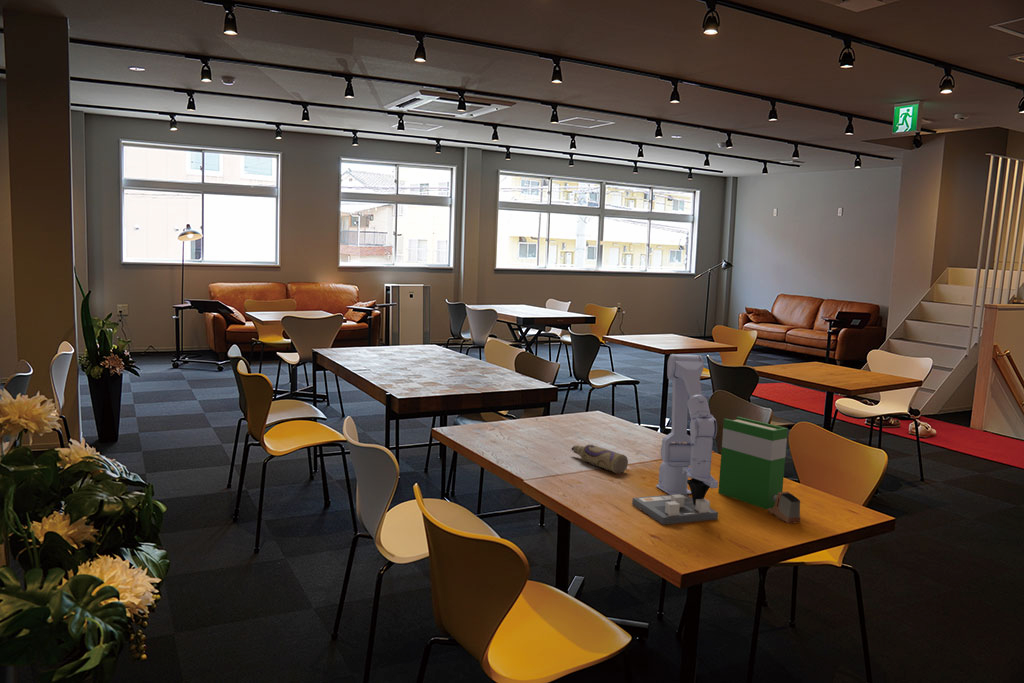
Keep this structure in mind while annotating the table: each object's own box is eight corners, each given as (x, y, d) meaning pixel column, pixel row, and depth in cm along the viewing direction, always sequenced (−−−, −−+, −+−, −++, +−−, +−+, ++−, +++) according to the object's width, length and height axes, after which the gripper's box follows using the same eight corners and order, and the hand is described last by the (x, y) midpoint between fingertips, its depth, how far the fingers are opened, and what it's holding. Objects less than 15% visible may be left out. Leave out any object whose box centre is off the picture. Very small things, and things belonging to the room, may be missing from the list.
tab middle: (670, 505, 211) (671, 494, 210) (679, 504, 212) (680, 494, 211) (675, 507, 208) (675, 497, 208) (684, 507, 209) (684, 496, 209)
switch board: (632, 504, 216) (632, 497, 216) (684, 499, 223) (684, 493, 222) (662, 524, 201) (663, 517, 200) (717, 519, 207) (718, 511, 207)
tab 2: (695, 509, 208) (696, 499, 207) (704, 508, 209) (704, 498, 208) (700, 512, 205) (701, 502, 205) (709, 511, 206) (710, 501, 206)
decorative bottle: (629, 472, 250) (630, 453, 249) (612, 475, 245) (613, 456, 244) (580, 454, 271) (581, 436, 270) (565, 456, 266) (565, 439, 266)
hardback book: (718, 492, 231) (723, 418, 228) (732, 489, 235) (738, 416, 233) (766, 509, 217) (773, 431, 214) (781, 505, 221) (787, 428, 219)
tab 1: (664, 512, 204) (665, 502, 204) (674, 511, 205) (674, 501, 205) (669, 515, 202) (670, 504, 202) (678, 514, 203) (679, 504, 203)
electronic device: (779, 511, 216) (781, 487, 215) (801, 523, 207) (803, 497, 206) (766, 512, 214) (768, 487, 213) (788, 524, 205) (790, 498, 204)
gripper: (674, 453, 213) (671, 497, 214) (703, 467, 199) (700, 514, 201) (695, 451, 215) (692, 496, 217) (725, 465, 202) (721, 512, 203)
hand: (697, 505), depth 209 cm, fingers closed
